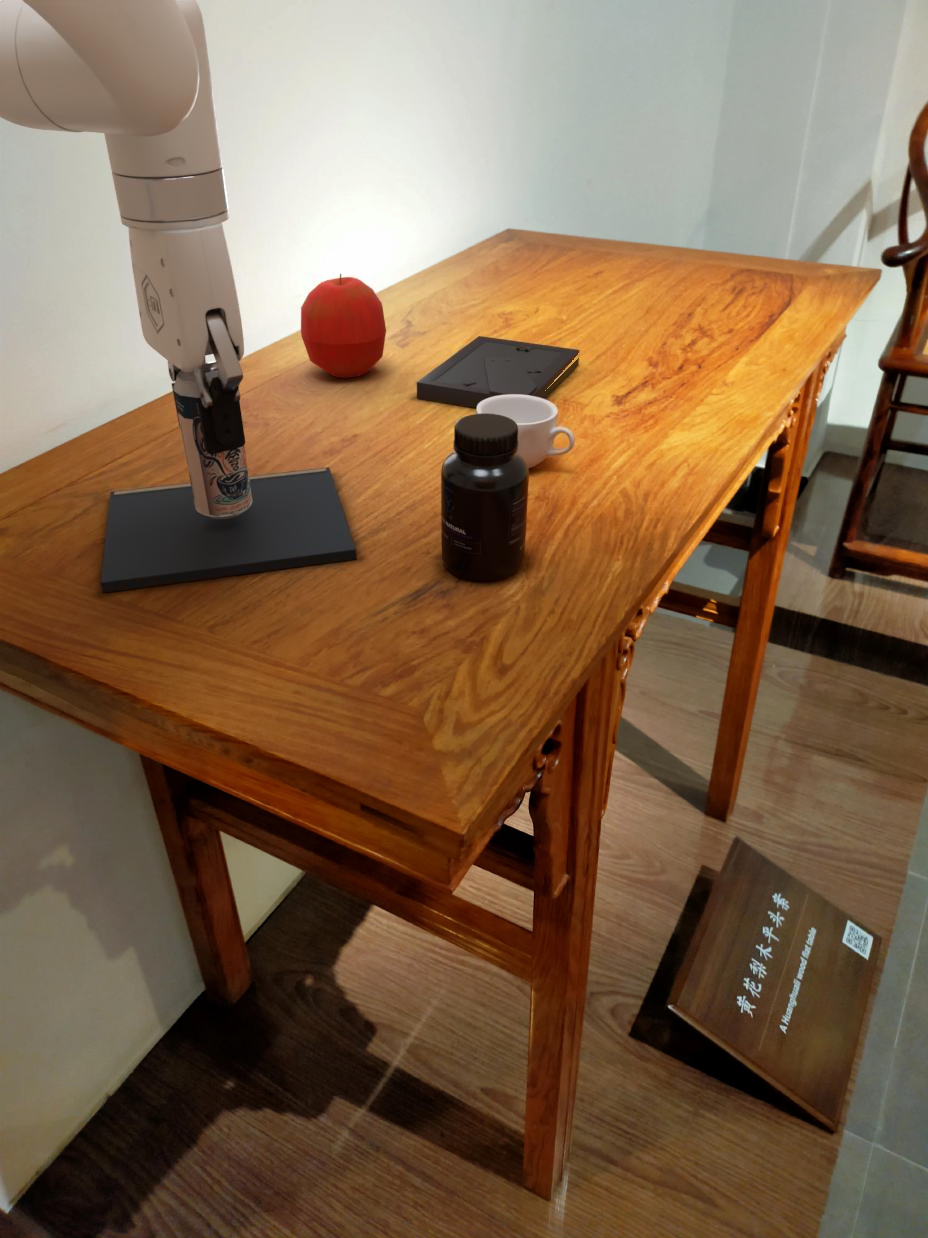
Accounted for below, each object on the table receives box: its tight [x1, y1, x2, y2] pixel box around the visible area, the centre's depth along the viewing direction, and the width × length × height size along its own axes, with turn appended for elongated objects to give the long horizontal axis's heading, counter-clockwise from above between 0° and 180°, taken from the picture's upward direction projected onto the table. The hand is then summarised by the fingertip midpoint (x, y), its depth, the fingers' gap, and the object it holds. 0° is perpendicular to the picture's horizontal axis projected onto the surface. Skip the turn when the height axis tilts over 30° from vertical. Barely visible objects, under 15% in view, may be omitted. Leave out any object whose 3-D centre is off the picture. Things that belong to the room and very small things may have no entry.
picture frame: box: [416, 335, 580, 409], centre depth 110 cm, size 13×2×18 cm
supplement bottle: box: [440, 413, 530, 582], centre depth 74 cm, size 7×7×12 cm
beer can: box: [172, 370, 252, 519], centre depth 77 cm, size 5×5×12 cm
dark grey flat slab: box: [100, 466, 358, 594], centre depth 81 cm, size 20×16×1 cm
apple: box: [300, 273, 387, 379], centre depth 110 cm, size 10×10×12 cm
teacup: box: [475, 394, 576, 470], centre depth 91 cm, size 10×8×5 cm
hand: (212, 435), depth 77 cm, fingers closed on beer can, 4 cm apart
